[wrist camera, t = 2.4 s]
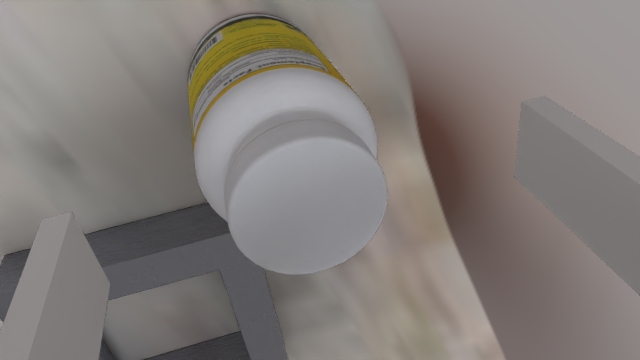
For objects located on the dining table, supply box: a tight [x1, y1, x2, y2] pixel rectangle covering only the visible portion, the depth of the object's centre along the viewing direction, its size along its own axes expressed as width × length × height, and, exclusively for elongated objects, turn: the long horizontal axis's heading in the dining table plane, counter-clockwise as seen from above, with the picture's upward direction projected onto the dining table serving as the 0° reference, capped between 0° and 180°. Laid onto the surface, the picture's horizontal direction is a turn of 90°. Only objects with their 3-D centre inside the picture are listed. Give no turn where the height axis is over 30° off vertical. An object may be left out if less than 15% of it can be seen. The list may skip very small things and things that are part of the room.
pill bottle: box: [188, 14, 388, 275], centre depth 19 cm, size 6×6×11 cm
